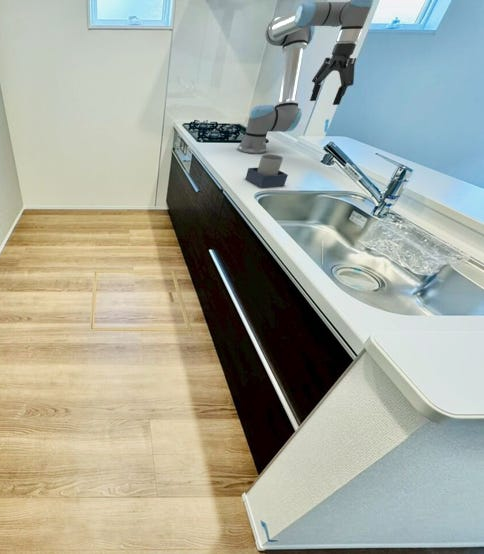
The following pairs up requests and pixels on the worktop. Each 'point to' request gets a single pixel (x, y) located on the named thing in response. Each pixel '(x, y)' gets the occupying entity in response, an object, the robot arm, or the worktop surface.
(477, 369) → the worktop surface
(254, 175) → the dark navy open box
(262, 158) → the cup
